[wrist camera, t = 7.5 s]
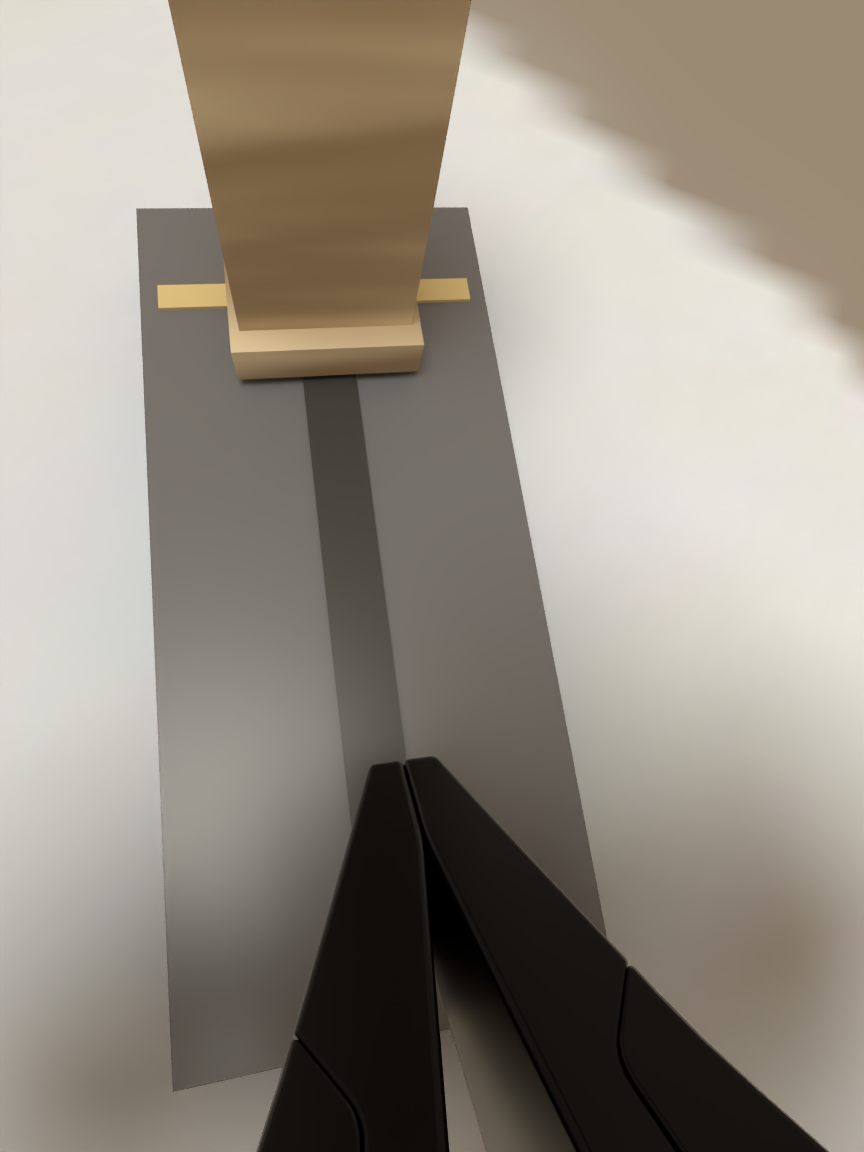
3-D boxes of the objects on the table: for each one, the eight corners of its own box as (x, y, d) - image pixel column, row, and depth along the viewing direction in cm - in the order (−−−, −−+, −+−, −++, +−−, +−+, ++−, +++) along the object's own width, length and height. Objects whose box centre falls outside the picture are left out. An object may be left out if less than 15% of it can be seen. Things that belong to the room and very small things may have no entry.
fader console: (579, 960, 14) (618, 992, 12) (196, 1043, 13) (171, 1094, 11) (453, 263, 19) (468, 204, 17) (157, 269, 17) (135, 204, 15)
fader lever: (431, 370, 15) (689, -645, 4) (222, 380, 14) (-125, -844, 3) (413, 260, 16) (593, -847, 5) (214, 263, 15) (-96, -1049, 4)
